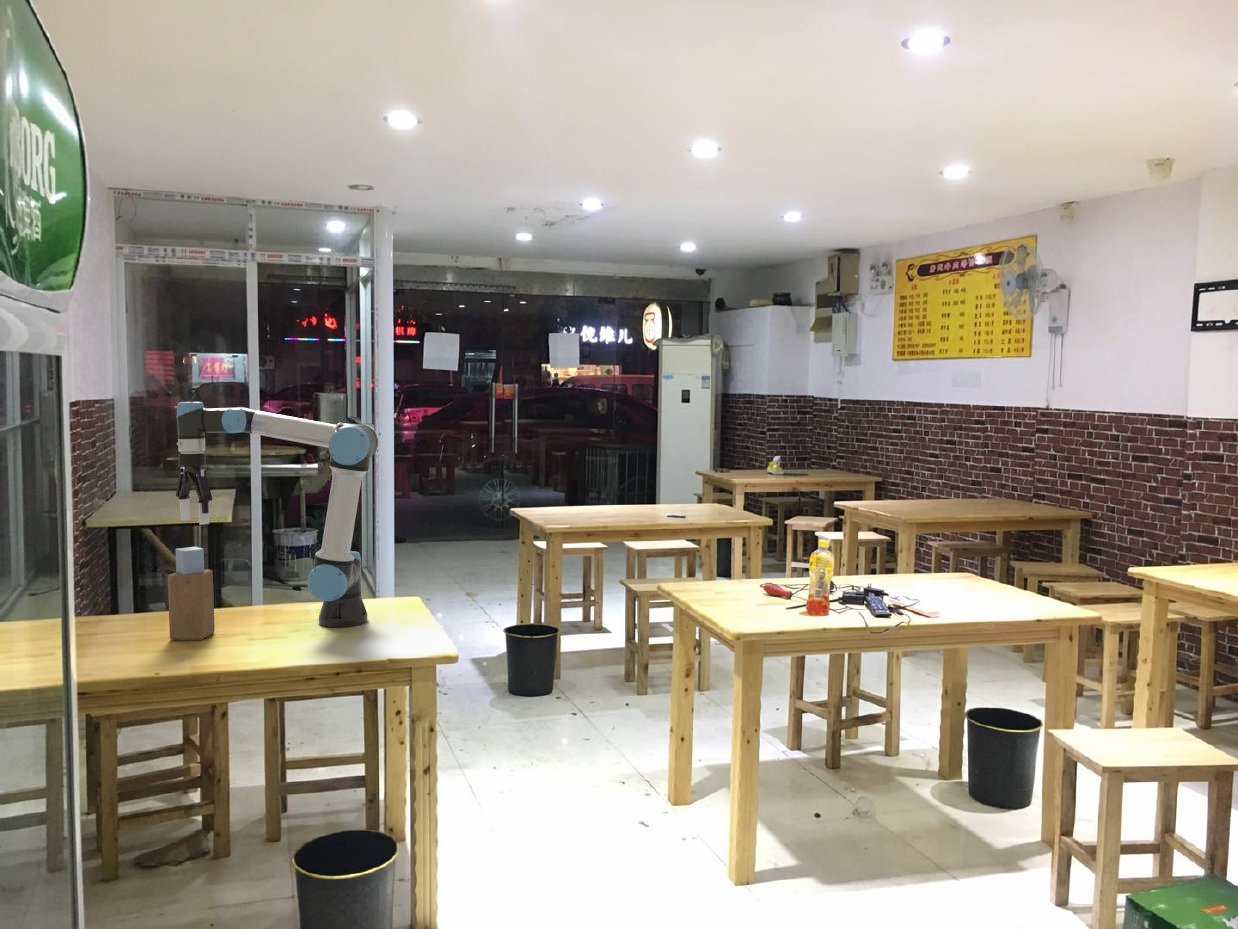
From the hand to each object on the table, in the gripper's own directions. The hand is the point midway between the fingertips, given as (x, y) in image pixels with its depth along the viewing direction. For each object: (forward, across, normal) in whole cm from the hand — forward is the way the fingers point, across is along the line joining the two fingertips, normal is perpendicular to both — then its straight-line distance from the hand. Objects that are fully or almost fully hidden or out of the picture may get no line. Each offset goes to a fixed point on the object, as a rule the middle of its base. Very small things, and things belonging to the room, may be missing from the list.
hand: (194, 522), depth 297 cm
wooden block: (+35, +3, -3) cm, 35 cm away
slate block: (+14, +3, -3) cm, 15 cm away
